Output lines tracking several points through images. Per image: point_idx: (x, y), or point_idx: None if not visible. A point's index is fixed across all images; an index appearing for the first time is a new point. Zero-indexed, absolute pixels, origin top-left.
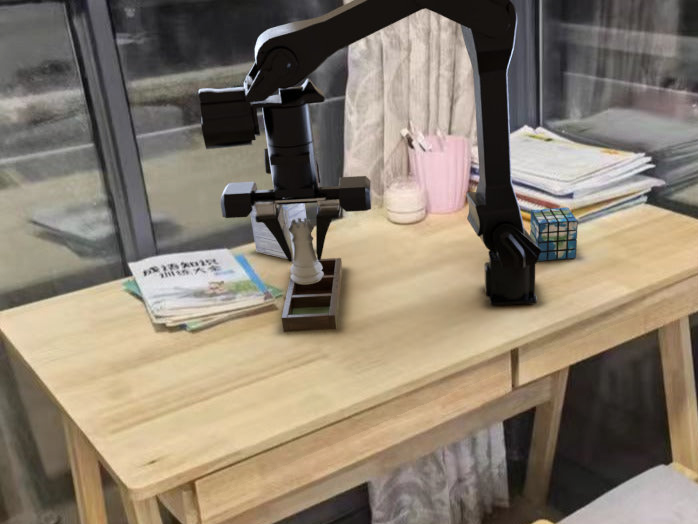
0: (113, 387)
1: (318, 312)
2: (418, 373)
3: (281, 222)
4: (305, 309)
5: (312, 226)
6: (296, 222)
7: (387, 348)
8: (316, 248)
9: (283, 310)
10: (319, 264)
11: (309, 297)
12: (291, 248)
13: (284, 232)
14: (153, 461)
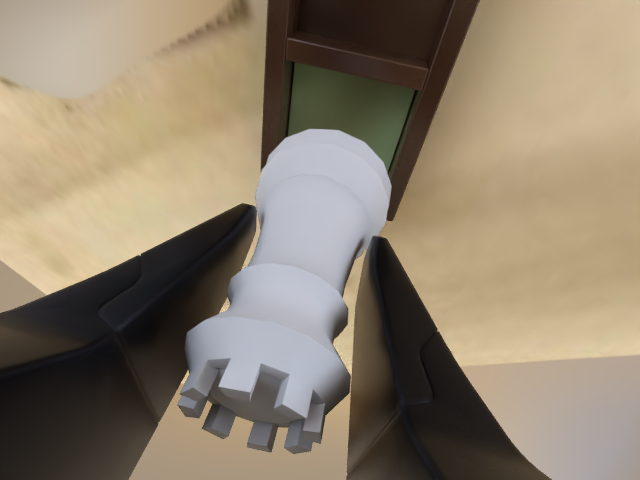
0: (39, 249)
1: (367, 113)
2: (473, 361)
3: (123, 443)
4: (332, 78)
5: (339, 401)
6: (221, 366)
7: (465, 296)
8: (354, 328)
9: (262, 150)
10: (372, 236)
11: (346, 72)
12: (237, 236)
13: (171, 372)
14: None
